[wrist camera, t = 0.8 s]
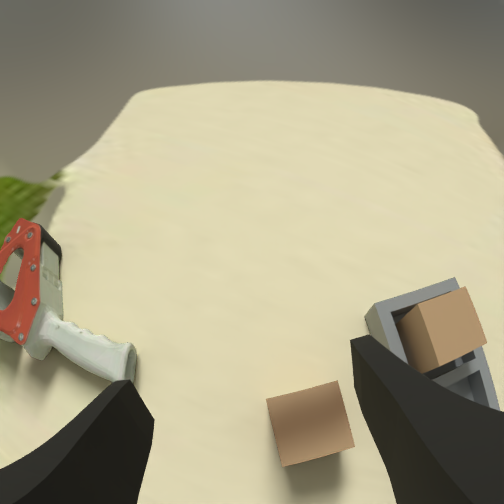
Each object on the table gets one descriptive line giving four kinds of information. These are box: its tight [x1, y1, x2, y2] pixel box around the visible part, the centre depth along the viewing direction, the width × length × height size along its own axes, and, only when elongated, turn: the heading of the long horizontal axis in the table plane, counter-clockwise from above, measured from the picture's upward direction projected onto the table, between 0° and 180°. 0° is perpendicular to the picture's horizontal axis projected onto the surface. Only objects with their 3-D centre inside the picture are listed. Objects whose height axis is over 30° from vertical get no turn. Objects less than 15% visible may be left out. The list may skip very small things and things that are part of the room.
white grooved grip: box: [0, 218, 137, 383], centre depth 25 cm, size 18×5×20 cm
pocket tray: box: [365, 277, 500, 411], centre depth 17 cm, size 22×8×6 cm, turn 12°
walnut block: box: [266, 380, 355, 467], centre depth 19 cm, size 4×4×5 cm
